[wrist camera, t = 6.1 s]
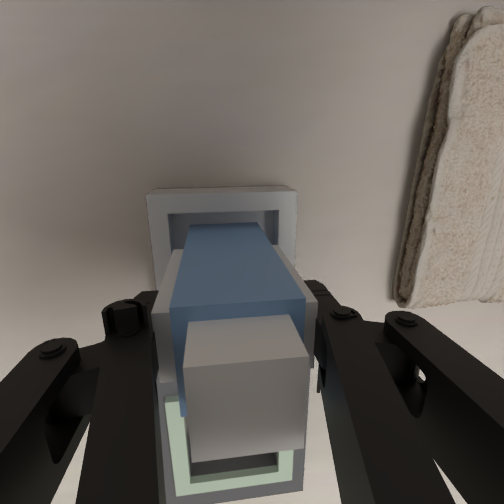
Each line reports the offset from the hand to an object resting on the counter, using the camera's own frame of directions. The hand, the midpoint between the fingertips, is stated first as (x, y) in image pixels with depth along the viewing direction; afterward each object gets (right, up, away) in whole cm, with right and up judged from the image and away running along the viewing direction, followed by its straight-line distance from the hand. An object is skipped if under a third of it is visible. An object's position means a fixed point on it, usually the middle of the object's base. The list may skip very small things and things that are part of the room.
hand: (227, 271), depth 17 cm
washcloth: (+17, +6, +5) cm, 19 cm away
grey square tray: (-1, +1, +3) cm, 4 cm away
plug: (0, +1, +2) cm, 3 cm away
